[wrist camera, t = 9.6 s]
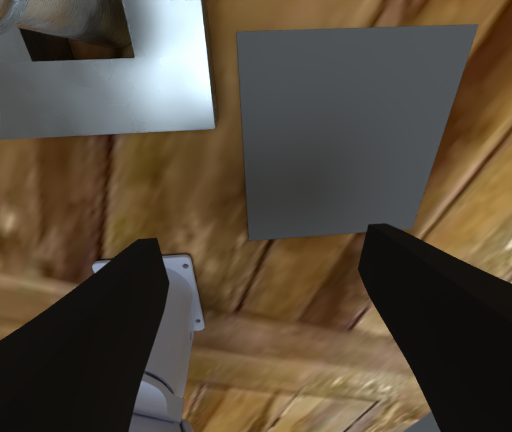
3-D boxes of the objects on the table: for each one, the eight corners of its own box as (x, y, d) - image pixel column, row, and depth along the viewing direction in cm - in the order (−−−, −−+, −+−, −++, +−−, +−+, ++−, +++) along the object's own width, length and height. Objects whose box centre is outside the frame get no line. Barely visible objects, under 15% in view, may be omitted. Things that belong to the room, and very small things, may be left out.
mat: (409, 226, 22) (412, 228, 21) (248, 238, 21) (248, 240, 21) (472, 25, 15) (478, 24, 14) (236, 32, 14) (236, 31, 14)
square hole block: (218, 118, 16) (215, 128, 13) (42, 127, 16) (-5, 139, 13) (190, -152, 11) (174, -242, 8) (-82, -154, 10) (-216, -253, 7)
